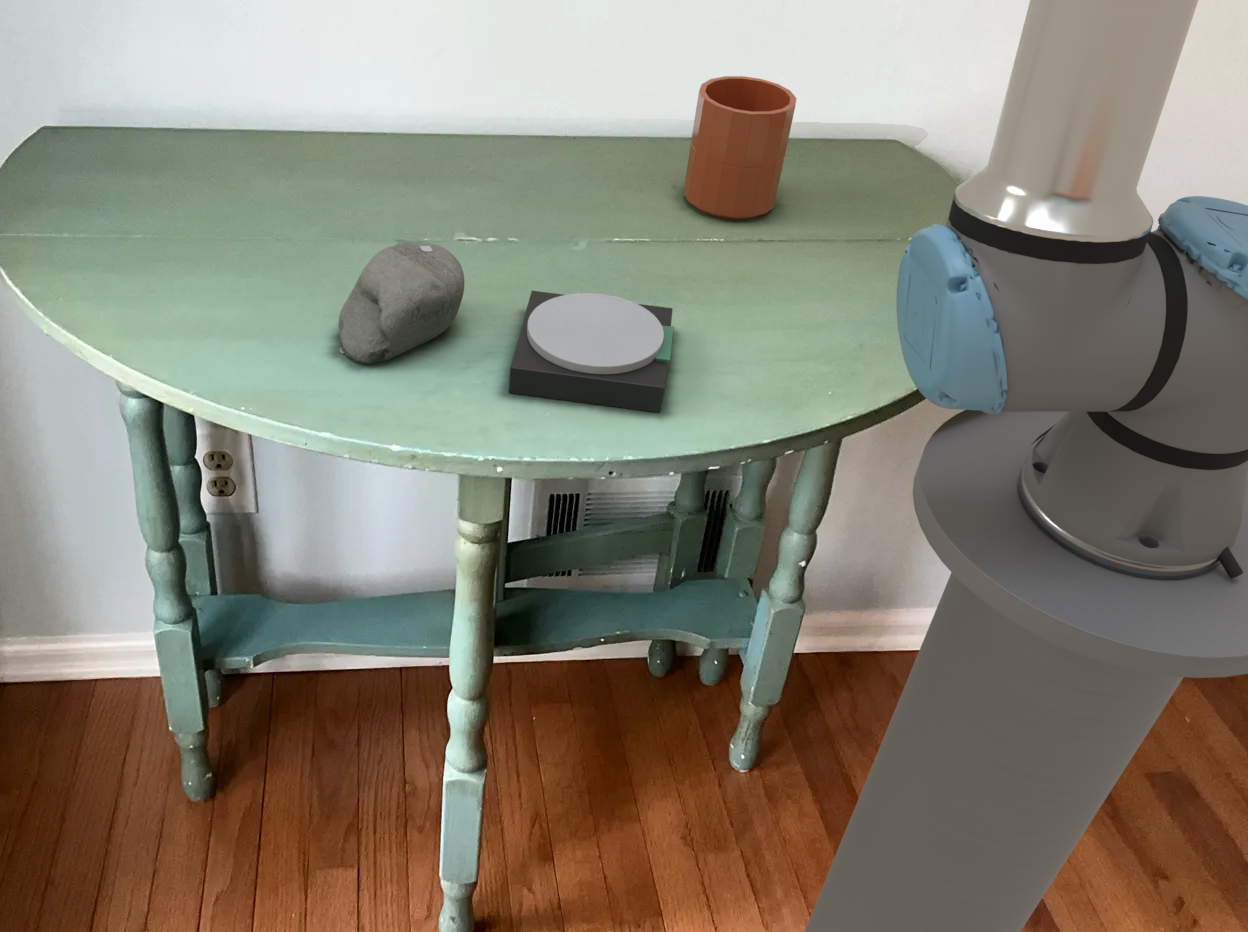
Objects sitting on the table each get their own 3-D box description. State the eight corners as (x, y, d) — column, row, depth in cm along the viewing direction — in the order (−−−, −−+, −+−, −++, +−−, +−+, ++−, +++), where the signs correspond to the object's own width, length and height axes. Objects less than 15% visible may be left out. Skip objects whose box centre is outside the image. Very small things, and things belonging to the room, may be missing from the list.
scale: (671, 332, 101) (676, 299, 99) (663, 413, 93) (668, 379, 90) (529, 314, 102) (532, 281, 100) (508, 393, 93) (510, 358, 91)
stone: (311, 321, 99) (357, 212, 95) (395, 339, 105) (442, 237, 101) (361, 376, 94) (412, 262, 90) (447, 392, 100) (498, 286, 96)
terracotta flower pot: (792, 211, 120) (816, 104, 113) (721, 230, 116) (741, 120, 109) (734, 175, 126) (753, 70, 118) (664, 191, 122) (680, 84, 114)
